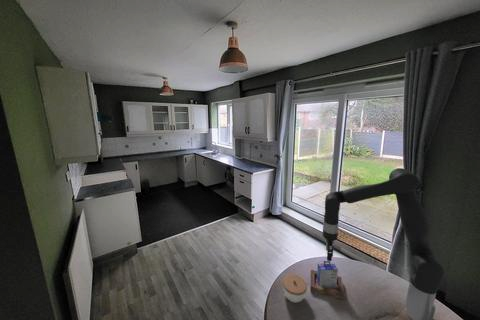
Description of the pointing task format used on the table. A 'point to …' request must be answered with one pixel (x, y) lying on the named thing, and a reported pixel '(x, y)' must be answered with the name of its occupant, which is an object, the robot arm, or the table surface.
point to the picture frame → (330, 292)
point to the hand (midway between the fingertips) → (328, 255)
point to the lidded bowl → (294, 288)
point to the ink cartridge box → (327, 275)
